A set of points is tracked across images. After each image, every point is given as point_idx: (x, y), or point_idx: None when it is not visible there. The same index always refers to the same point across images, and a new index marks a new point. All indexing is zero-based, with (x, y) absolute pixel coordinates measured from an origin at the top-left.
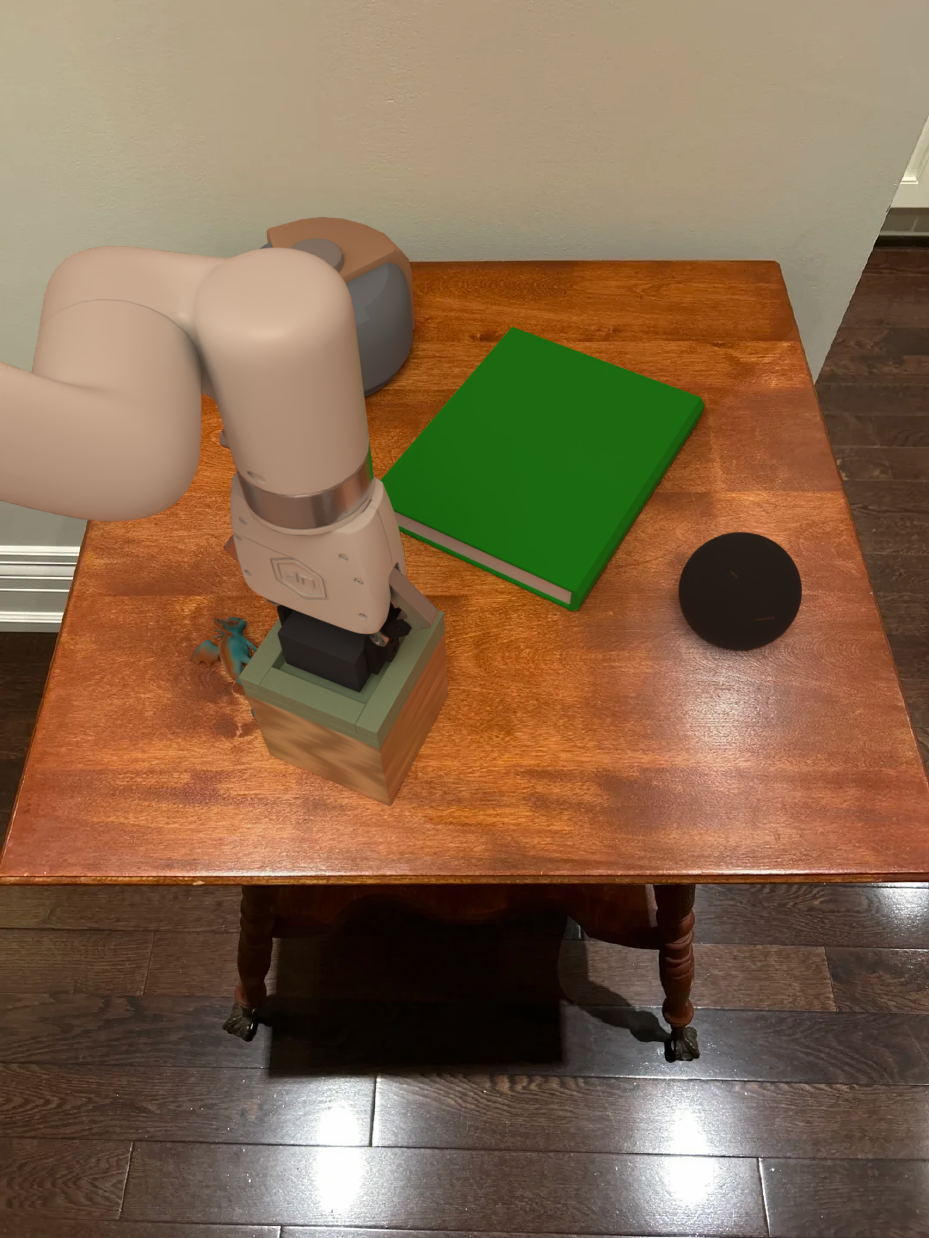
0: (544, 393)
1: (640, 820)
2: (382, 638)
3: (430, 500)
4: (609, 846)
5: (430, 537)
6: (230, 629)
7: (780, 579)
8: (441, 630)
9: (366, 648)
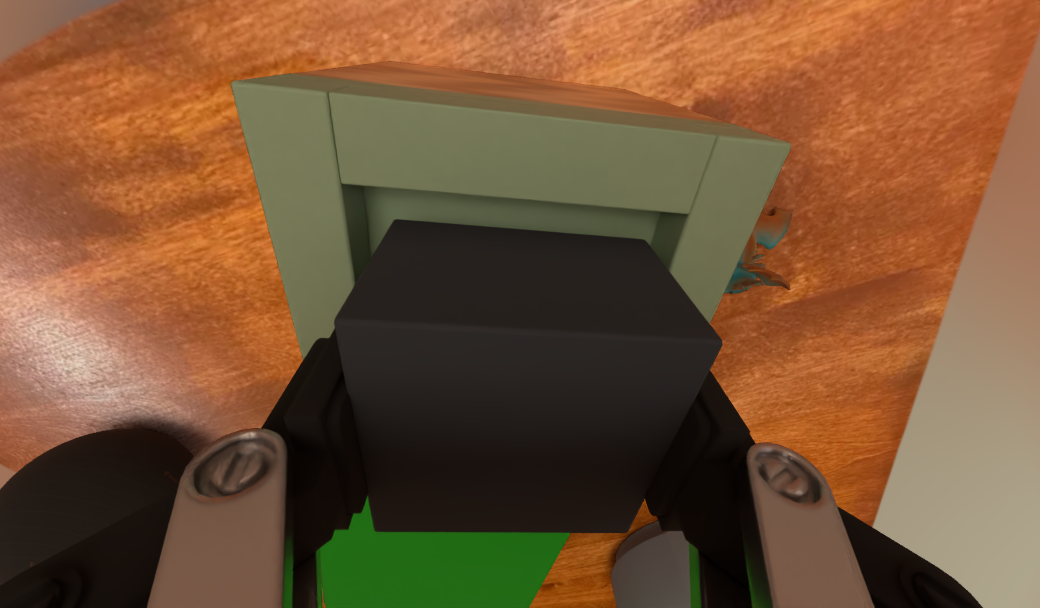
0: (466, 584)
1: (18, 178)
2: (175, 503)
3: None
4: (17, 116)
5: None
6: (742, 274)
7: None
8: None
9: (328, 391)
